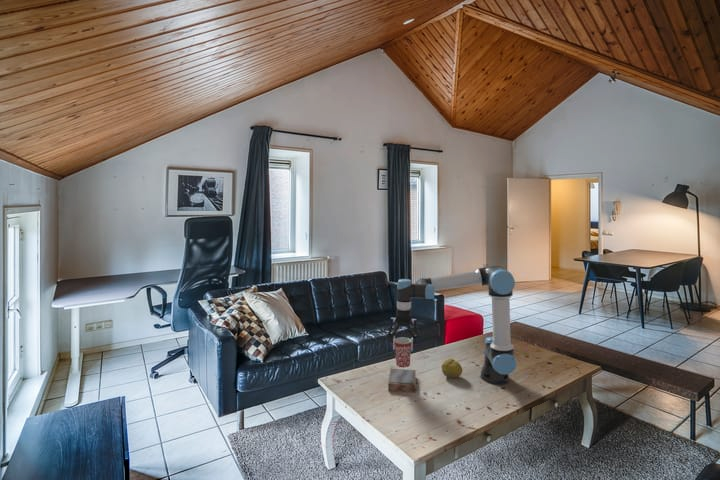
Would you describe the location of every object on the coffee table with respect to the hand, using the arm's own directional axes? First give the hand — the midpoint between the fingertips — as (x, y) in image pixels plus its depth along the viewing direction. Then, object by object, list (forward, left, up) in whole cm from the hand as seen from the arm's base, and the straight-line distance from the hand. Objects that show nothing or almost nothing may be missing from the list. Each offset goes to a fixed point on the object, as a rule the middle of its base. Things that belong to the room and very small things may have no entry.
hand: (402, 349), depth 207 cm
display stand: (0, 0, -19) cm, 19 cm away
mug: (0, 0, -8) cm, 8 cm away
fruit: (-27, -12, -19) cm, 35 cm away
